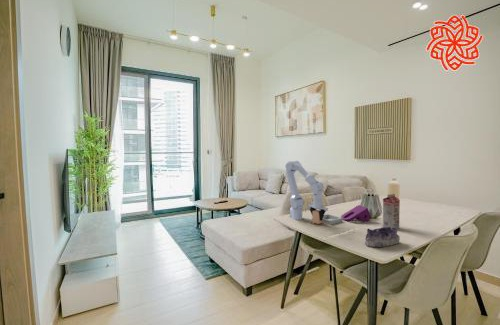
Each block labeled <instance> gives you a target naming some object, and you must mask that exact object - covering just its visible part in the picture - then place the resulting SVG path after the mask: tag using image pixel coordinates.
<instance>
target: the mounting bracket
mask: <svg viewBox="0 0 500 325" xmlns="http://www.w3.org/2000/svg"><path fill="white" fill-rule="evenodd" d="M340 218H342V222H343V221H344V222H346V223H349V222H352V221H354V220H360V221H361V222H363V223H365V222H366V223H367V222H368V221H370V219H371V213H370V210H369V209H368V207H366V206H362V205H360V204H358V205H356V206H354V207H353V208H351V209H350V210H348V211H347V212H344V213H342V215H341V216H340Z"/></svg>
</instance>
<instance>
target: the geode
mask: <svg viewBox="0 0 500 325" xmlns="http://www.w3.org/2000/svg"><path fill="white" fill-rule="evenodd" d="M400 240H401V238H400V235H399V234H398V229H396V228H392V229H391V227H383V226H382V227H380V228H374V229H370V227H369V228H367V230H366V235H365V240H364V244H365V245H366V247H367V248H374V249H380V248H384V247H389V246H394V245H397V244H400V243H401V242H400Z"/></svg>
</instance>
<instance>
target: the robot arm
mask: <svg viewBox="0 0 500 325" xmlns="http://www.w3.org/2000/svg"><path fill="white" fill-rule="evenodd" d="M285 169H286V170H285V175H286V179H287V182H288V186H289V190H290V194H291V197H290V198H289V204H290V208H289V217H288V219H293V220H297V221H300V220H303V208H304V205H305V200H304V199H303V197H302V195H301V194H300V193H299V190H298V185H297V182H296V177H295V172H299V173H300V174H301V175H302V176H303V177H304V178H305V182H307V184H308V185H309V186H310V187H311V191H312V194H313V195H312V198H313V199H312V200H313V201H312V203H313V204H308V205H307V208H309V211H310V213H311V215H312V211H314V210H320V211H319V214H320V221H322V220H323V216H324V215H325V213H326V212H328V211H329V208H328V207H325V206H323V190H324V183H322V182H321V181H319V180H318V179H316V178H315V176H314V174H313V175H312V174H309V173H308V171H306V169H305V168H304V167H303V165H302V163H300V161H298V160H293V161H292V160H291V161H287V162H286V163H285Z"/></svg>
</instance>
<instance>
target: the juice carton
mask: <svg viewBox="0 0 500 325" xmlns="http://www.w3.org/2000/svg"><path fill="white" fill-rule="evenodd" d="M400 205H401V204H400V199H399V198H398V197H397V196H396V195H395V193H392V194H391V193H390V194H387V197H385V198H383V199H382V227H391V229H392V228H396V229H397V230H398V229H400Z"/></svg>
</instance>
